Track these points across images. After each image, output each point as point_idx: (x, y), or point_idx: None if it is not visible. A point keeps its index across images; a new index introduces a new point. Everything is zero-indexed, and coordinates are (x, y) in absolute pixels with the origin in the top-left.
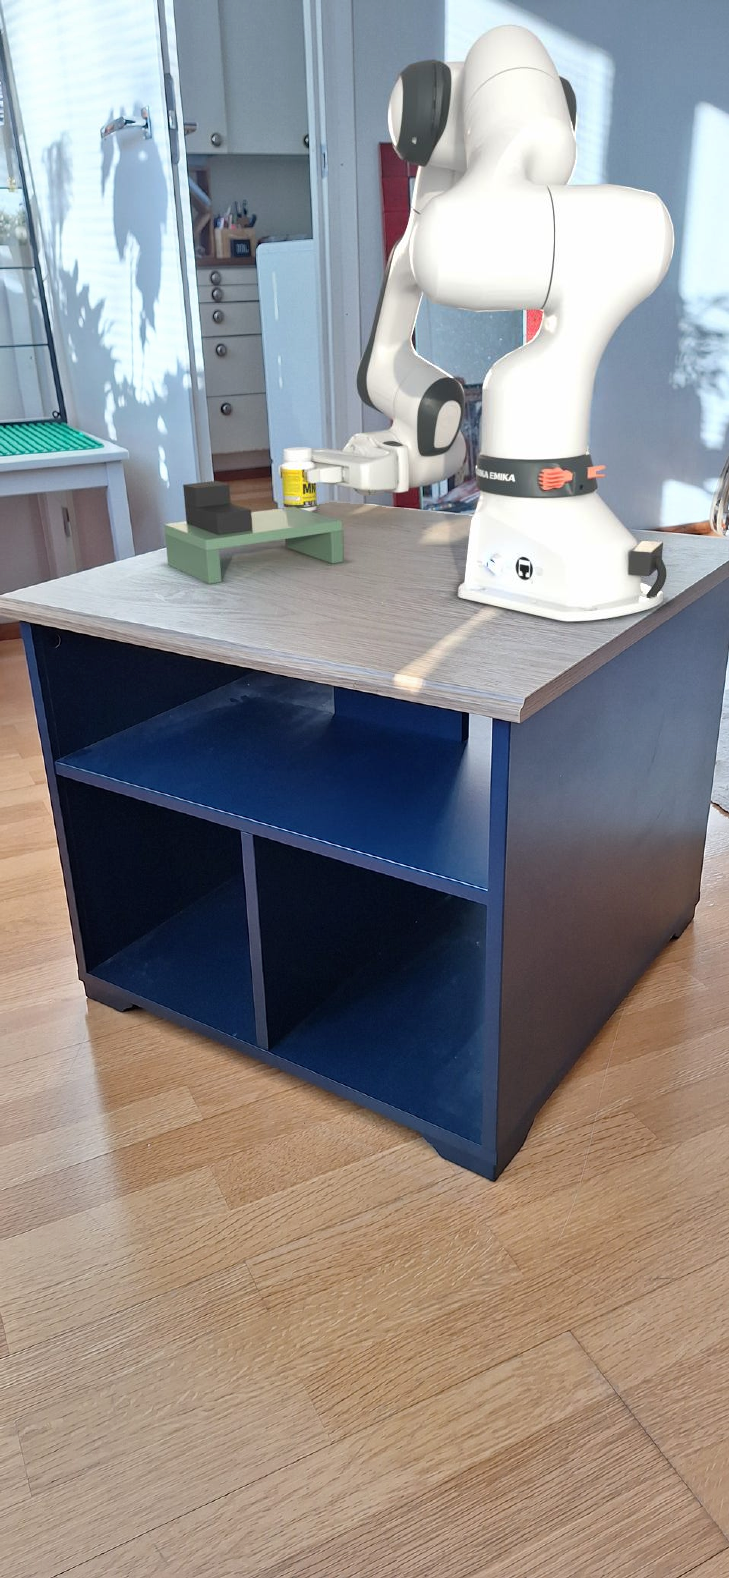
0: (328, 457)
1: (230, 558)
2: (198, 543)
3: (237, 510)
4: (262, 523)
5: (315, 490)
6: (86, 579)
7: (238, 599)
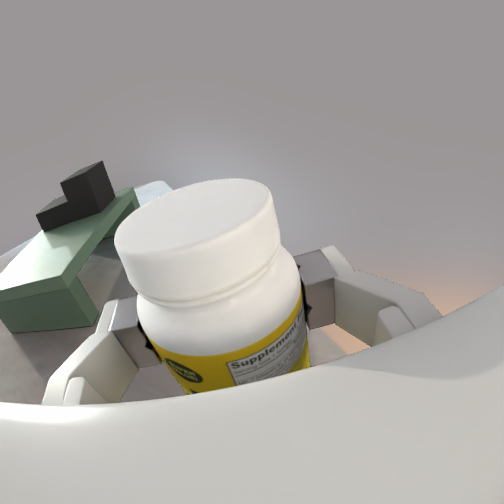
0: (154, 426)
1: (117, 259)
2: None
3: (44, 208)
4: (48, 239)
5: None
6: (160, 194)
7: None
